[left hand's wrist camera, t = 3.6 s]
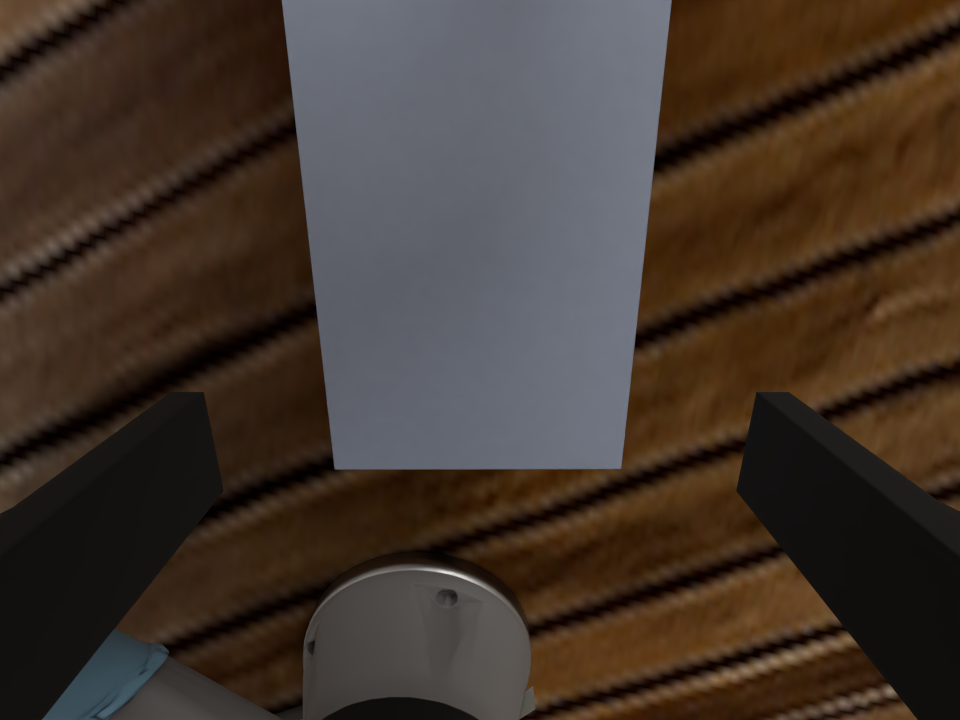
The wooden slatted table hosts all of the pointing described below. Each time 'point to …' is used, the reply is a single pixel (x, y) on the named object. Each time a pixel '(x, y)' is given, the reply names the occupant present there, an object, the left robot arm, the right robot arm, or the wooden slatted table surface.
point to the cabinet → (477, 222)
